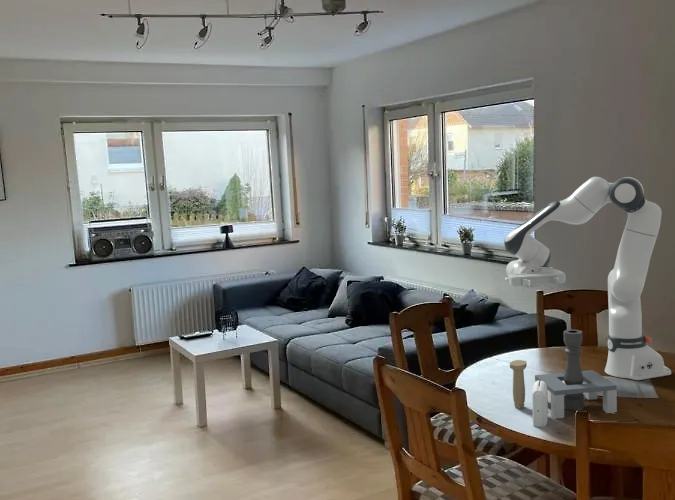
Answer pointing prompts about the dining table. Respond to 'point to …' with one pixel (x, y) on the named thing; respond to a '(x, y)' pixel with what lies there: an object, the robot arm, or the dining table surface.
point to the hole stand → (579, 390)
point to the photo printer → (539, 404)
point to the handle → (518, 382)
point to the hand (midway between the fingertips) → (544, 282)
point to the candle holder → (573, 368)
